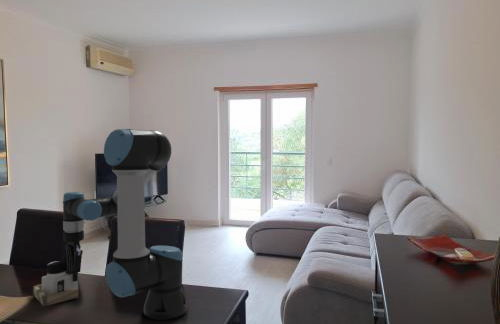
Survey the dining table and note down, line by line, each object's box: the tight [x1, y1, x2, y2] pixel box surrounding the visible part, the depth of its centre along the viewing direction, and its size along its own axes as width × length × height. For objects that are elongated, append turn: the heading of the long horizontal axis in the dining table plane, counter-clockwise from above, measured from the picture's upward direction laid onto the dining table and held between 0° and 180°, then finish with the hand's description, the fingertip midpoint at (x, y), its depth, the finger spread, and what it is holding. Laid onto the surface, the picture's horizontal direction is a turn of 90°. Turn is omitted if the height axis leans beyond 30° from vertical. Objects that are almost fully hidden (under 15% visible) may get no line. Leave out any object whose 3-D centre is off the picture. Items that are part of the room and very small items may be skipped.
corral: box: [32, 283, 79, 307], centre depth 144 cm, size 14×12×4 cm
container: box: [41, 260, 71, 295], centre depth 145 cm, size 8×8×13 cm
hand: (73, 288), depth 148 cm, fingers closed
